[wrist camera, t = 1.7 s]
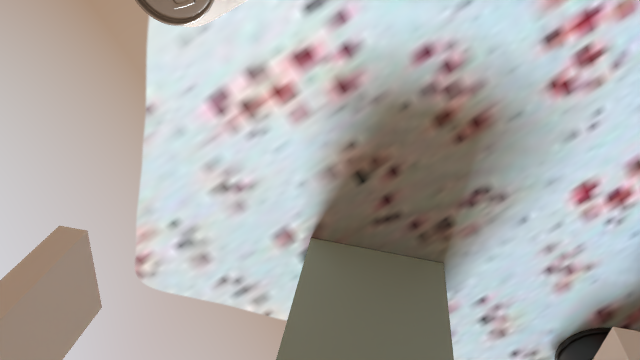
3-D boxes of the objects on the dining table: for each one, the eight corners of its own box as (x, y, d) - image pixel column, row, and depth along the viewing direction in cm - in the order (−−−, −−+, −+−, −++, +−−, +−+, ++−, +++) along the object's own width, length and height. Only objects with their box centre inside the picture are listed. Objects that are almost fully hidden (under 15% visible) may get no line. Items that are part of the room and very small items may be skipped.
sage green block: (311, 237, 50) (263, 404, 33) (443, 263, 49) (463, 448, 32) (303, 292, 54) (257, 465, 37) (425, 317, 53) (434, 506, 36)
